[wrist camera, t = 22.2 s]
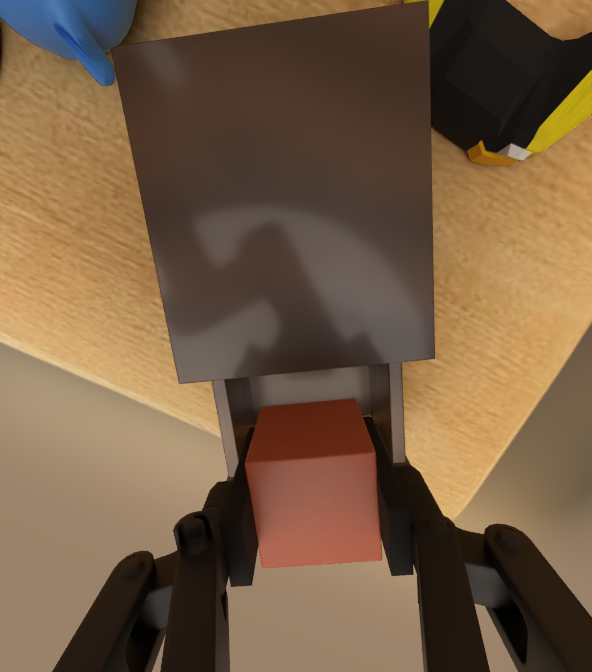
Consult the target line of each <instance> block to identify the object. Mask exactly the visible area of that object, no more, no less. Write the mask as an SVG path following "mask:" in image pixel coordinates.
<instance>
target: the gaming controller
mask: <svg viewBox="0 0 592 672" xmlns="http://www.w3.org/2000/svg"><path fill="white" fill-rule="evenodd" d="M417 1H424V0H403V3H402V4H404V3H411V2H417ZM429 39H430V98H431V126H433V127H434V128H435V129H437V130H438V131H439V132H441V133H442V134H444V135H445V136H446V137H448V138H449V139H450V140H452V141H453V142H454V143H456V144H457V145H458V146H460V147H461V148H463V149H464V150H465V151H467V153H468V155H469V158H470V161H472V162H475V163H479V164H489V165H501V166H509V165H511V164H513V163H515V162H517V161H523V160H525V159H527V158H530V157H532V156H535V155H536V154H538V153H540V152H542V151H544V150H545V149H546V148H548V147H549V146H551V145H552V144H553V143H555V142H556V141H557V140H559V139H560V138H561V137H563V136H564V135H565V134H567V133H568V132H570V131H571V130H572V129H574V128H575V127H576V126H578V125H579V124H580V123H582V122H583V121H584V120H586V119H587V118H588V117H589V116H591V115H592V32H590V33H588V34H586V35H584V36H582V37H580V38H578V39H572V40H564V41H562V40H559V39H557V38H554V37H551V36H549V35H548V34H547V33H546V32H545V31H543V30H542V29H541V28H540V27H538V26H537V25H536V24H535V23H533V22H532V21H531V20H530V19H528V18H527V17H526V16H525V15H523V14H522V13H521V12H520V11H518V10H517V9H516V8H515V7H514V6H512V5H511V4H510V3H509V2H507V1H506V0H429Z"/></svg>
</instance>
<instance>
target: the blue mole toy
mask: <svg viewBox="0 0 592 672" xmlns="http://www.w3.org/2000/svg"><path fill="white" fill-rule="evenodd" d="M136 4H137V0H0V17H1V18H2V19H3V20H4V21H5V22H6V23H7V24H8V25H9V26H10V27H11V28H13V29H14V30H15V31H16V32H17V33H19V34H20V35H21V36H23V37H24V38H26V39H27V40H29V41H30V42H32V43H33V44H35V45H37V46H39V47H41V48H43V49H45V50H47V51H50V52H52V53H55V54H57V55H59V56H61V57H64V58H68V59H72V60H80V62H81V63H82V64H83V65H84V66H85V68H86V69H87V70H88V71H89V73H90V74H91V75H92V76H93V77H94V79H95V80H96V81H97V82H98V83H99V84H100V85H104V86H108V85H112V84H113V83H114V81H115V70H114V68H113V65H112V64H111V62H110V60H109V59H108V57H107V56H106V53H108V52H110V51H111V47H116V46H118V45H119V44H120V43H121V42H122V40H123V39H124V38H125V36H126V35H127V33H128V31H129V29H130V27H131V25H132V22H133V18H134V13H135V8H136Z"/></svg>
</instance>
